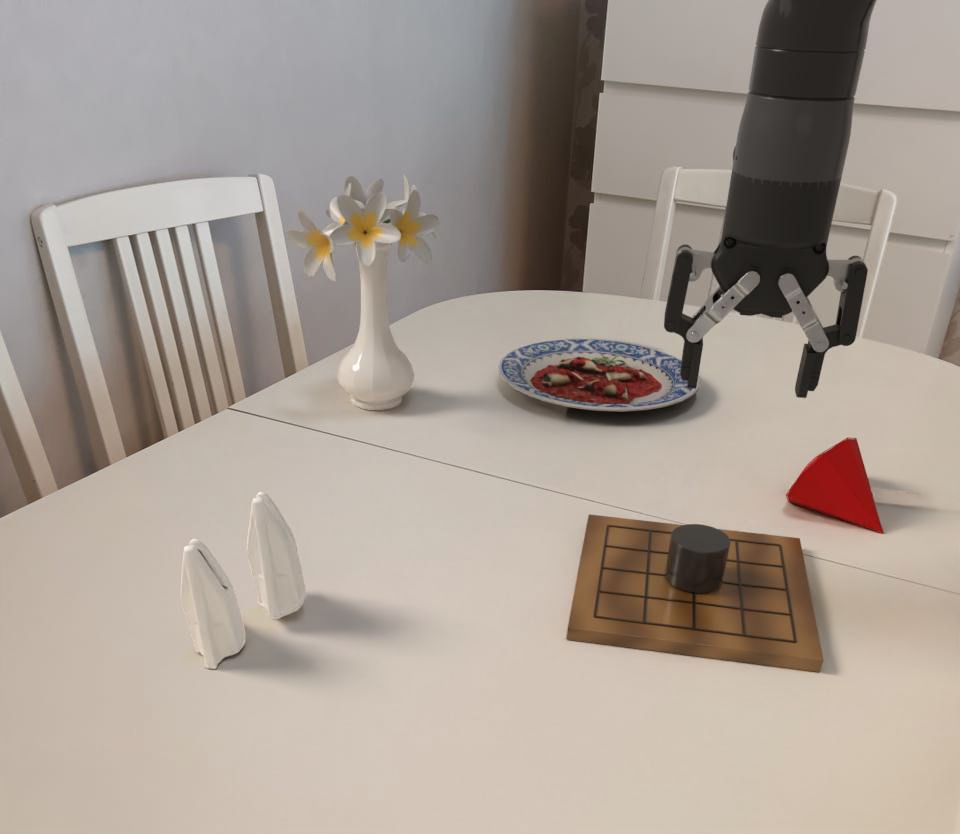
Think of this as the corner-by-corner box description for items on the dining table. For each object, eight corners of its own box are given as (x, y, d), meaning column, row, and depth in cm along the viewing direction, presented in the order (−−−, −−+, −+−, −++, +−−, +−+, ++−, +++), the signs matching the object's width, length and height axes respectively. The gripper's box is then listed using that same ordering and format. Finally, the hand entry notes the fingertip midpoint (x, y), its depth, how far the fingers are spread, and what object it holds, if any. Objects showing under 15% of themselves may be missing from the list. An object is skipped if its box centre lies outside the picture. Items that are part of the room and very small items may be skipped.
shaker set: (289, 588, 83) (278, 469, 77) (324, 605, 81) (316, 485, 75) (176, 651, 75) (154, 524, 69) (212, 671, 73) (193, 543, 67)
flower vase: (285, 416, 114) (266, 185, 100) (375, 371, 127) (369, 162, 113) (377, 441, 109) (370, 202, 95) (460, 392, 122) (465, 176, 108)
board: (797, 549, 92) (800, 536, 91) (820, 672, 76) (824, 658, 75) (587, 525, 94) (588, 512, 94) (566, 639, 78) (567, 626, 77)
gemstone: (924, 505, 97) (855, 436, 100) (916, 497, 90) (841, 423, 93) (854, 566, 101) (788, 498, 104) (841, 563, 93) (770, 490, 96)
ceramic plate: (648, 444, 111) (652, 419, 109) (459, 394, 122) (460, 371, 120) (725, 380, 129) (730, 358, 128) (555, 342, 140) (557, 321, 138)
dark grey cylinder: (721, 567, 86) (729, 527, 84) (723, 596, 82) (731, 555, 80) (664, 560, 87) (671, 520, 84) (663, 589, 83) (670, 548, 80)
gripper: (684, 171, 66) (654, 399, 75) (902, 183, 64) (843, 415, 73) (684, 153, 72) (657, 367, 81) (883, 163, 70) (831, 380, 79)
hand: (745, 389), depth 77 cm, fingers open, 8 cm apart
